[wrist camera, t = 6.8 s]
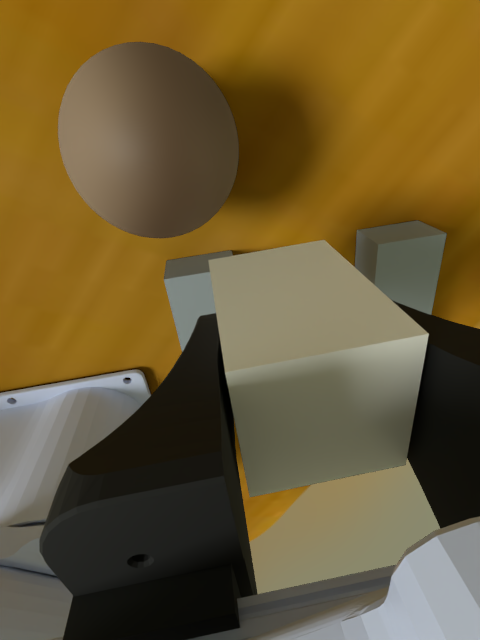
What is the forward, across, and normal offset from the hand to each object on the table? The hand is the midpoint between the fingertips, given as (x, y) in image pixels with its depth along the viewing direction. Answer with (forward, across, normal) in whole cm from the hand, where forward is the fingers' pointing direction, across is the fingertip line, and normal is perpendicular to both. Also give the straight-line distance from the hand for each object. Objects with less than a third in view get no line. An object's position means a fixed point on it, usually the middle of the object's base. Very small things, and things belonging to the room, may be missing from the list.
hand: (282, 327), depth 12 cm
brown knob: (+8, +3, -6) cm, 11 cm away
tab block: (+2, 0, 0) cm, 2 cm away
